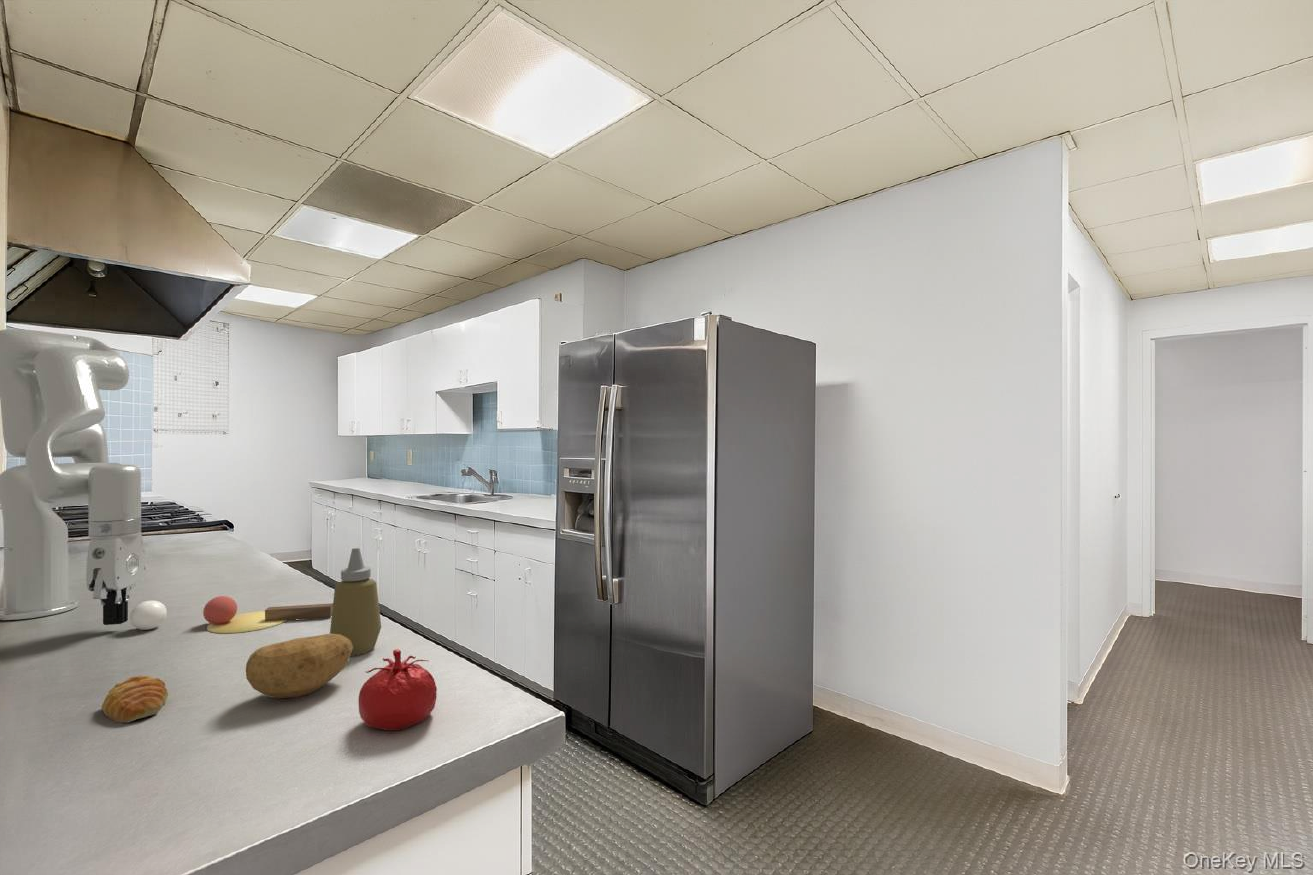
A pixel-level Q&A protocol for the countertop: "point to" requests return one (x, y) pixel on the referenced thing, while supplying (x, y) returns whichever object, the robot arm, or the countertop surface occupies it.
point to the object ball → (220, 610)
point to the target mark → (244, 623)
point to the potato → (297, 665)
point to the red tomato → (397, 695)
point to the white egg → (148, 615)
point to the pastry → (135, 699)
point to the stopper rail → (299, 612)
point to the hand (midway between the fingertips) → (115, 622)
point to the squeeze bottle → (356, 606)
